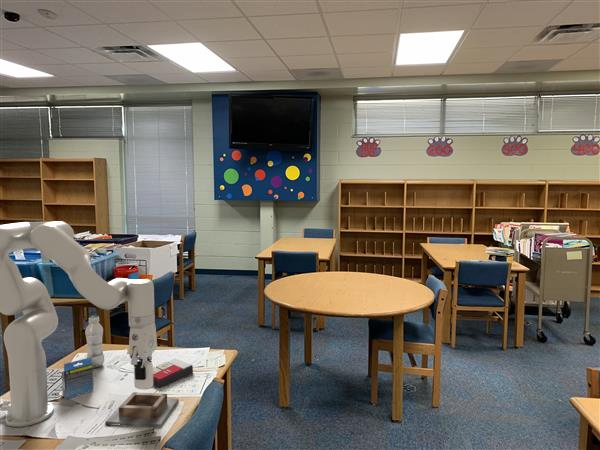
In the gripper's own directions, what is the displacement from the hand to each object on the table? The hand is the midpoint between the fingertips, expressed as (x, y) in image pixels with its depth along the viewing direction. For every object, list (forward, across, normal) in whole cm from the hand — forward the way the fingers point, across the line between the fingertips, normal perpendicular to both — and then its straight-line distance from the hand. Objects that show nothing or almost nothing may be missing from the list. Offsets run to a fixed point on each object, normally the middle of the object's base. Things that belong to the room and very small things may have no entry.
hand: (143, 375), depth 129 cm
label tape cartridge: (+12, +10, +28) cm, 32 cm away
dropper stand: (+12, 0, 0) cm, 12 cm away
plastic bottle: (+12, +31, +34) cm, 48 cm away
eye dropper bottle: (+4, 0, 0) cm, 4 cm away
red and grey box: (+13, +25, +2) cm, 28 cm away
